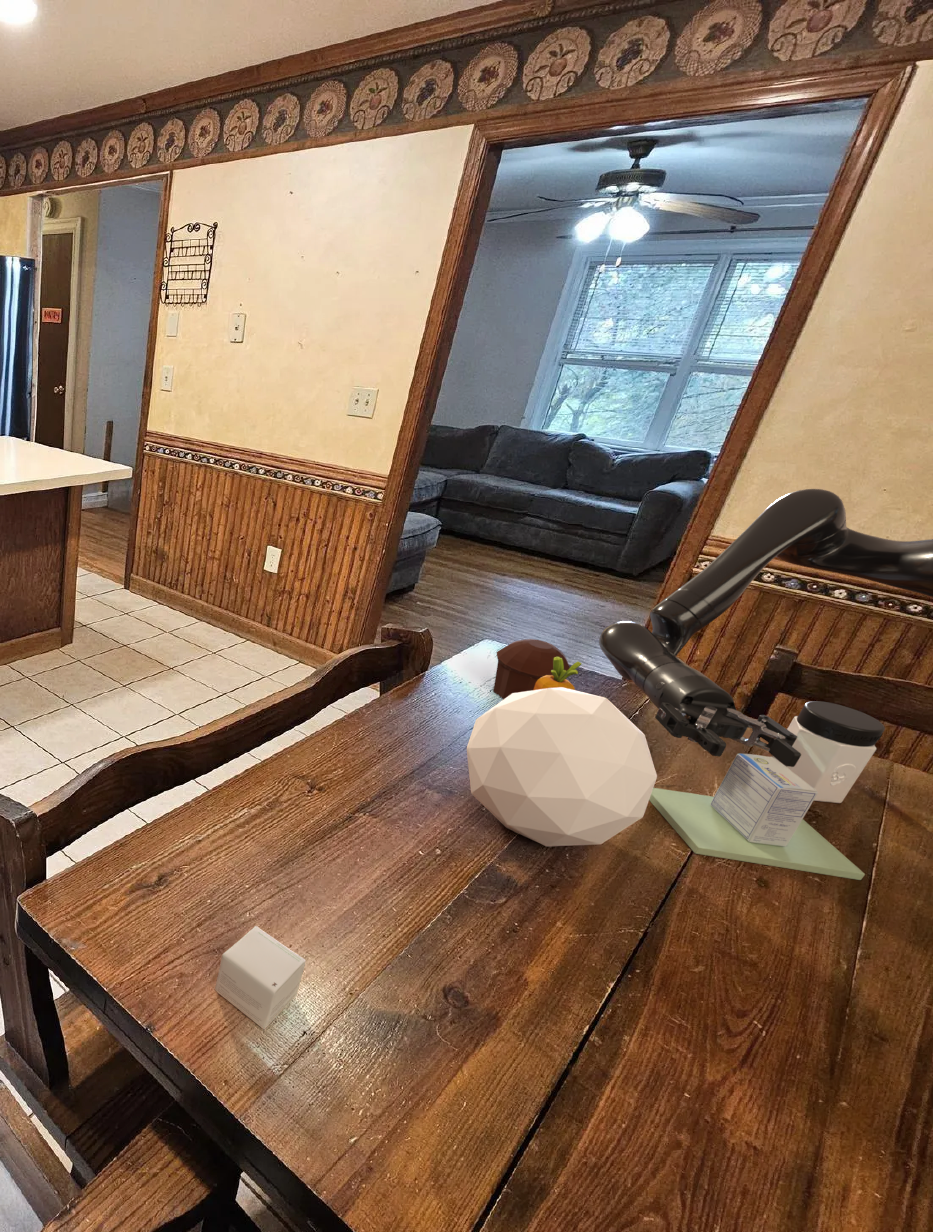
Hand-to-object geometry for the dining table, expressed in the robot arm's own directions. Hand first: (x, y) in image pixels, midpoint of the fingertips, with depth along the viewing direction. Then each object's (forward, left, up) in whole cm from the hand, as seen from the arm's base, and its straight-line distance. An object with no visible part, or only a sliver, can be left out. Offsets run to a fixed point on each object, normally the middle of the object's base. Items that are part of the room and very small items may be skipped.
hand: (757, 755), depth 93 cm
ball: (+28, +10, -10) cm, 31 cm away
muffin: (+16, -29, -10) cm, 34 cm away
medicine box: (0, +4, -9) cm, 9 cm away
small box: (+64, +45, -10) cm, 79 cm away
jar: (-16, -11, -10) cm, 22 cm away
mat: (0, +4, -9) cm, 10 cm away
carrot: (+20, -12, -10) cm, 25 cm away
